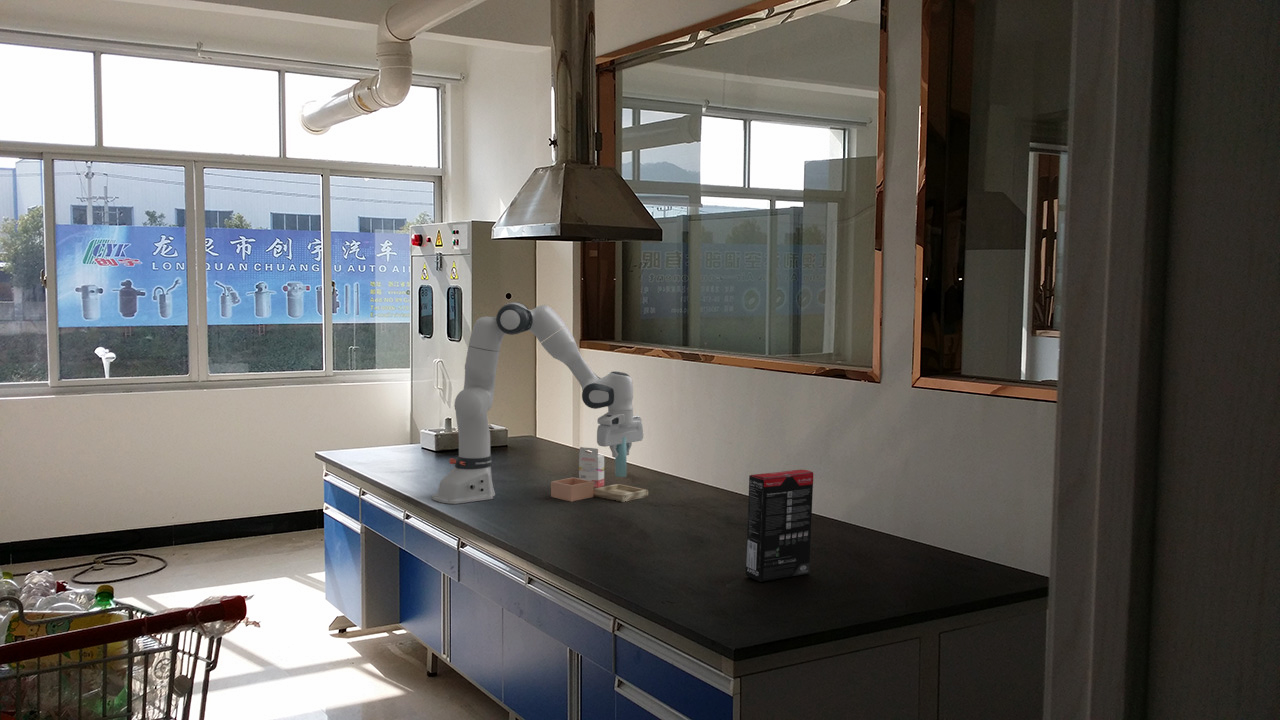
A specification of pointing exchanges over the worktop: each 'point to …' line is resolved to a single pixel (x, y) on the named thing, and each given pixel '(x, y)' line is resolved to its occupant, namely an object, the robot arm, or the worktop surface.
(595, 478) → the ink cartridge box
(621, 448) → the teal peg
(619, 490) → the birch tray
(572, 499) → the cup
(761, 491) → the graphics card box
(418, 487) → the worktop surface
